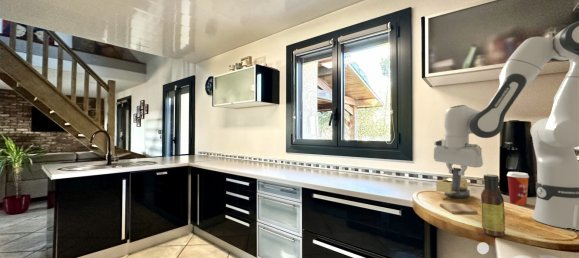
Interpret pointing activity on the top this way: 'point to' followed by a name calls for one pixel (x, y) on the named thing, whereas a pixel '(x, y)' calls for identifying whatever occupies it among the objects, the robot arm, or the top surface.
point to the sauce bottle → (492, 207)
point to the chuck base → (459, 194)
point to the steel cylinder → (456, 180)
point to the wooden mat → (458, 209)
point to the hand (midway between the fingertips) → (456, 174)
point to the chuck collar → (450, 185)
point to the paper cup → (518, 187)
